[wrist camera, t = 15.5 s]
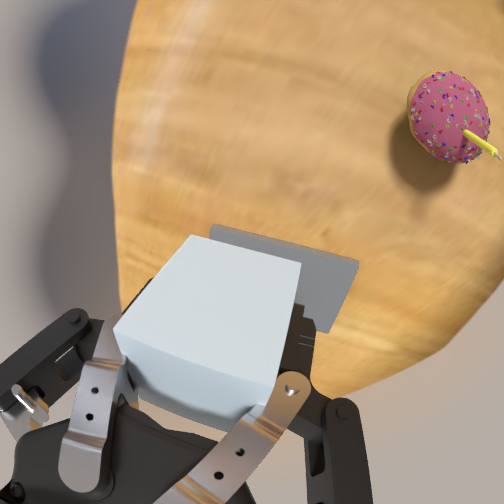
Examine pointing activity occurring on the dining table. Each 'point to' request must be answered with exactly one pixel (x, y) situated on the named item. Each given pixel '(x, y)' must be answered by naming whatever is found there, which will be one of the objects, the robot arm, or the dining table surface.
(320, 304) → the grey flat plate
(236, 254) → the greyblue block
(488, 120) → the cupcake
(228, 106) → the dining table surface
